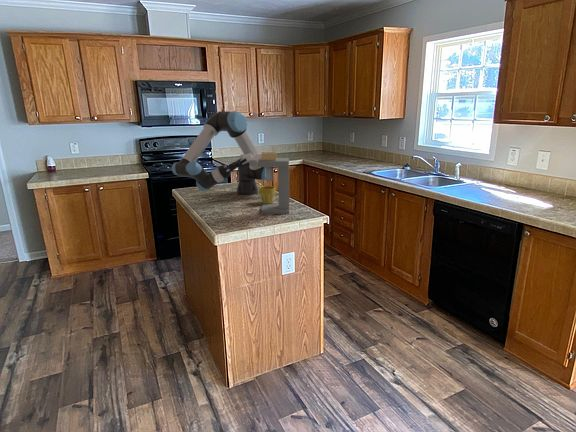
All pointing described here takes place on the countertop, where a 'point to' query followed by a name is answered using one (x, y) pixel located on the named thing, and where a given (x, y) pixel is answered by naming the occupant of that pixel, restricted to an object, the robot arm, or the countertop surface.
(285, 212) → the press stand
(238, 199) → the countertop surface
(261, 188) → the plant pot
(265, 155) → the metal block
